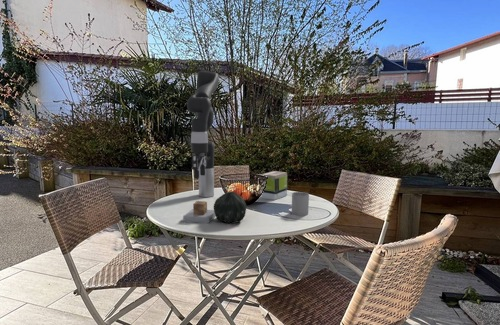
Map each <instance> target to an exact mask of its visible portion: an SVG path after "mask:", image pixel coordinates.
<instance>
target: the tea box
mask: <svg viewBox="0 0 500 325" xmlns="http://www.w3.org/2000/svg"><path fill="white" fill-rule="evenodd" d="M261 175H264V176H267V177H268V179H267V184H266V188H265V190H264V192H263V194H262V195H261V194H260V195H261V196H260V198H261V199H266V200H271V201H276V200H278V199H280V198H283V197H286V196H288V172H284V171H275V170H273V171H269V172H265V173H261V174H260V176H261Z"/></svg>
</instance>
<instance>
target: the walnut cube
mask: <svg viewBox="0 0 500 325" xmlns="http://www.w3.org/2000/svg"><path fill="white" fill-rule="evenodd" d="M192 207H193V208H192V209H193V214H197V215H204V214H205V213H206V212H207V210H208V201H203V200H202V201H201V200H200V201H199V200H196V201H195V202H193V206H192Z"/></svg>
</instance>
